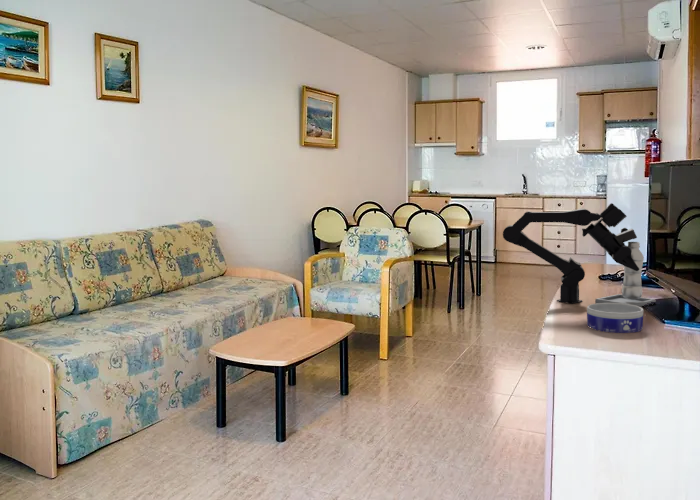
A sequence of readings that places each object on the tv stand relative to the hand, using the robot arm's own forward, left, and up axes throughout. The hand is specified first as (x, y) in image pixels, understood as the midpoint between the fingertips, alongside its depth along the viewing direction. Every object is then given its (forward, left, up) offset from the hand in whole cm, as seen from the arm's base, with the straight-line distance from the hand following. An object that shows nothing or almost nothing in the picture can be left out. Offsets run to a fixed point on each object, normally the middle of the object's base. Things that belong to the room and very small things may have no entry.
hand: (637, 269), depth 211 cm
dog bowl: (-36, -15, -13) cm, 41 cm away
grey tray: (-2, +3, -12) cm, 13 cm away
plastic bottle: (-1, +1, -11) cm, 11 cm away
